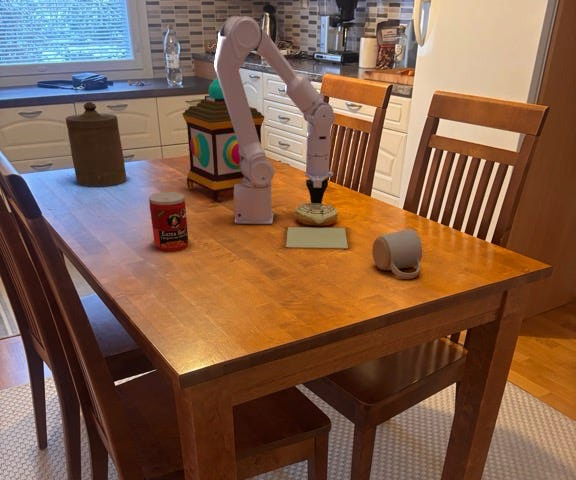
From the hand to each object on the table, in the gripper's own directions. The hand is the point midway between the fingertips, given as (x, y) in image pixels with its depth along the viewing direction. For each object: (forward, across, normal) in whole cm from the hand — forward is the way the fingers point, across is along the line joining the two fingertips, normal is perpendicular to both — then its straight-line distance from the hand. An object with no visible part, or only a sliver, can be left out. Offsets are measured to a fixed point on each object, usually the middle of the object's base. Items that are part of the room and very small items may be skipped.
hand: (316, 208), depth 152 cm
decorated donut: (+2, -7, 0) cm, 7 cm away
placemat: (+1, -19, 0) cm, 19 cm away
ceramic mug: (+2, -38, -17) cm, 41 cm away
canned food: (+2, -25, +33) cm, 42 cm away
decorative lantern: (+2, +20, +26) cm, 33 cm away
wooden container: (+2, +31, +66) cm, 73 cm away
